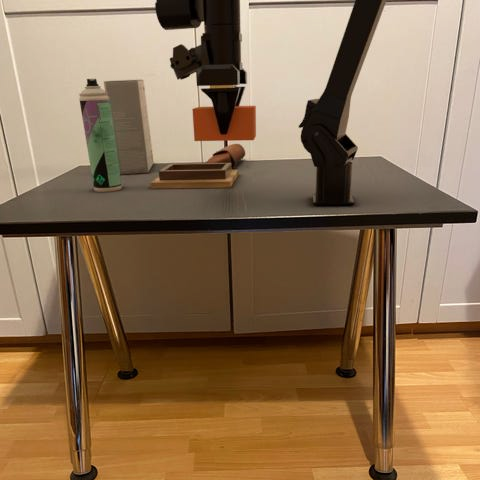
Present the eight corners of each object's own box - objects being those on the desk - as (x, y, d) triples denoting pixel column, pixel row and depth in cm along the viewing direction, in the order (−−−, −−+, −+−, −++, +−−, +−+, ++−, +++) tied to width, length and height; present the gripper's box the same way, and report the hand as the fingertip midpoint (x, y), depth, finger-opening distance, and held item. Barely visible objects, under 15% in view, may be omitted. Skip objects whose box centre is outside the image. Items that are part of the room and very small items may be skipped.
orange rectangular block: (253, 140, 80) (253, 107, 78) (194, 141, 81) (192, 108, 78) (255, 136, 85) (255, 105, 83) (200, 137, 86) (198, 106, 84)
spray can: (109, 185, 101) (93, 78, 92) (127, 187, 98) (112, 77, 89) (88, 190, 97) (69, 79, 88) (106, 192, 94) (89, 78, 85)
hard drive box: (124, 165, 126) (113, 80, 118) (153, 163, 127) (144, 79, 118) (116, 174, 112) (102, 79, 104) (149, 173, 113) (138, 78, 104)
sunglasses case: (214, 157, 129) (225, 134, 126) (236, 171, 130) (248, 148, 127) (200, 169, 113) (213, 142, 110) (226, 184, 114) (239, 158, 111)
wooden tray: (230, 187, 94) (229, 171, 93) (151, 188, 96) (149, 173, 95) (238, 175, 107) (238, 161, 105) (168, 176, 109) (167, 162, 107)
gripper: (183, 33, 85) (189, 128, 92) (157, 22, 68) (167, 139, 75) (246, 31, 83) (248, 127, 90) (235, 19, 67) (238, 138, 74)
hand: (225, 132), depth 82 cm, fingers closed on orange rectangular block, 6 cm apart
